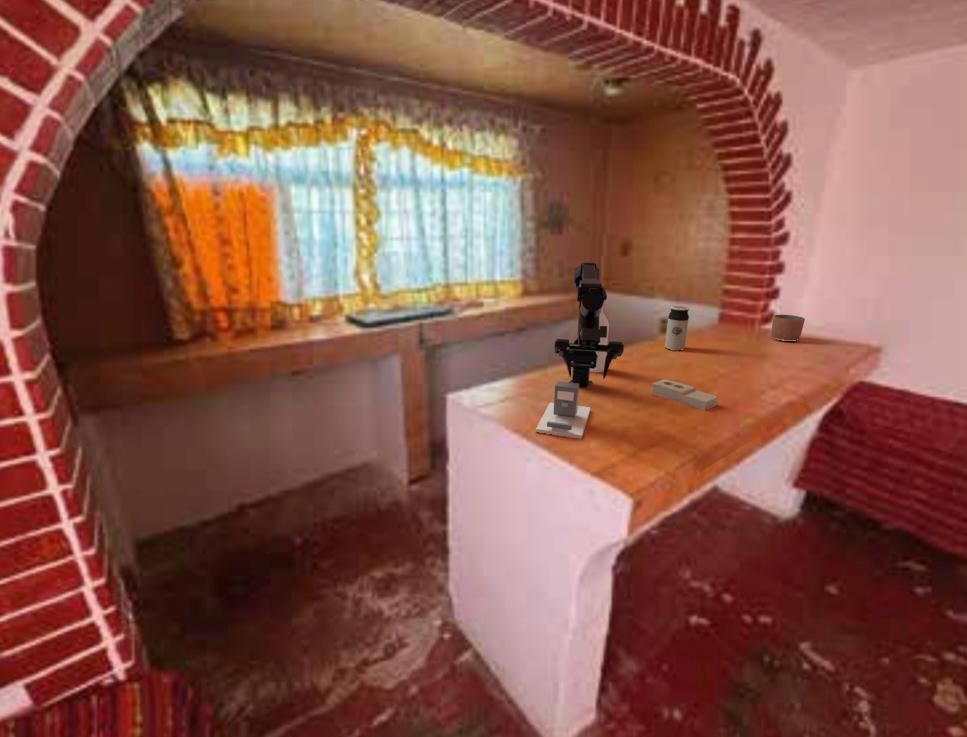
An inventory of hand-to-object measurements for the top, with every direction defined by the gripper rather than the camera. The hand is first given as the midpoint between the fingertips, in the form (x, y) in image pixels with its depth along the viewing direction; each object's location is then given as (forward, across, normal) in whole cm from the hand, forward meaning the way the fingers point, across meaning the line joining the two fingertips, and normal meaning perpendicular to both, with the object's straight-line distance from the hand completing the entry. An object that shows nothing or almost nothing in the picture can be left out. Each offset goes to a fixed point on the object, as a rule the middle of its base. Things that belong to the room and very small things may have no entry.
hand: (587, 377), depth 134 cm
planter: (-47, +97, +98) cm, 145 cm away
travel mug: (-34, +42, +76) cm, 93 cm away
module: (+10, -5, +3) cm, 12 cm away
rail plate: (+12, -6, +3) cm, 14 cm away
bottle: (-14, +6, +45) cm, 48 cm away
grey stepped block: (0, +31, +23) cm, 39 cm away
